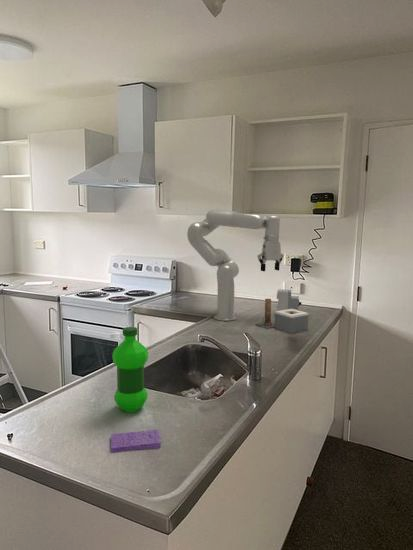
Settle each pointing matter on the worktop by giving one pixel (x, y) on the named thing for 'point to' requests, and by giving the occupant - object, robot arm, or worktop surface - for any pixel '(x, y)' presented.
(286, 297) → the circuit breaker
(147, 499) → the worktop surface
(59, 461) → the worktop surface
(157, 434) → the sponges
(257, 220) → the robot arm
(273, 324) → the rubber mat
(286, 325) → the square socket block
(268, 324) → the wooden pepper mill
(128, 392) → the plastic bottle
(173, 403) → the worktop surface
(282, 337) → the worktop surface
